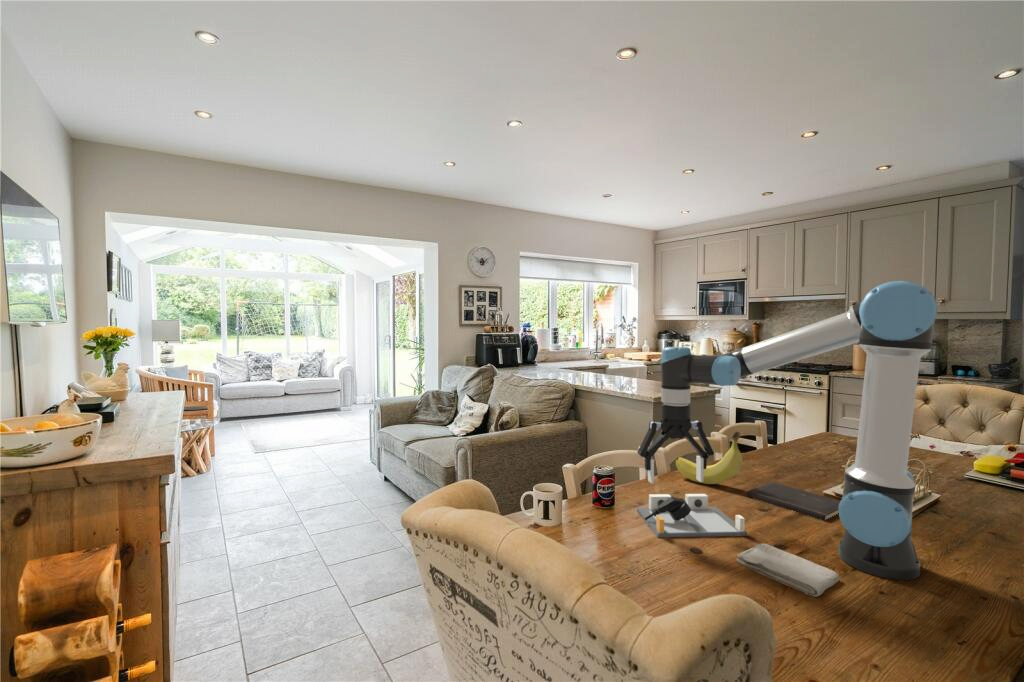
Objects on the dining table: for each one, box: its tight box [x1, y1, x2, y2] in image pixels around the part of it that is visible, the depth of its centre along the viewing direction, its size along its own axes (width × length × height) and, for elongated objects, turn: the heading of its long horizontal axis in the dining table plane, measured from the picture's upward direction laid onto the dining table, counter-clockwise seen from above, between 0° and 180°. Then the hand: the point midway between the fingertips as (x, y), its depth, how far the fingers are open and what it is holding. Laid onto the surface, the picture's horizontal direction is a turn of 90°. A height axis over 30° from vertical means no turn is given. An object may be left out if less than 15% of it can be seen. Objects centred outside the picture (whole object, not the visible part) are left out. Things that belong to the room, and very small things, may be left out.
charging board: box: [636, 493, 748, 538], centre depth 133 cm, size 17×24×5 cm
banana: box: [674, 430, 744, 485], centre depth 165 cm, size 23×6×20 cm, turn 47°
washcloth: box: [736, 542, 840, 597], centre depth 107 cm, size 12×18×3 cm, turn 36°
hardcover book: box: [746, 481, 841, 522], centre depth 148 cm, size 16×23×2 cm
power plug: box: [643, 496, 691, 524], centre depth 131 cm, size 6×8×12 cm
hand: (675, 481), depth 129 cm, fingers open, 13 cm apart
